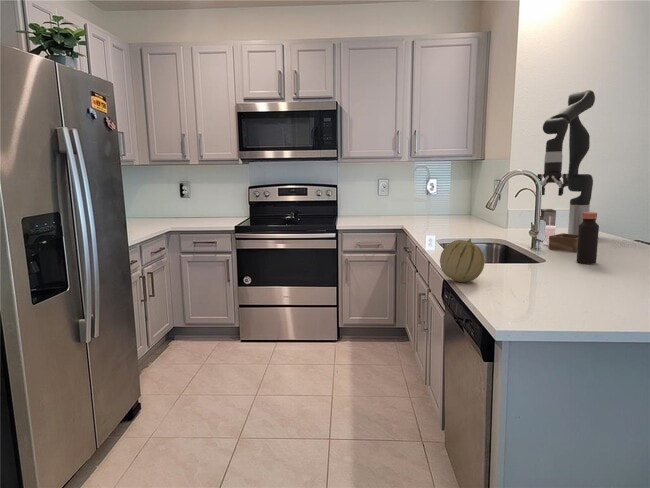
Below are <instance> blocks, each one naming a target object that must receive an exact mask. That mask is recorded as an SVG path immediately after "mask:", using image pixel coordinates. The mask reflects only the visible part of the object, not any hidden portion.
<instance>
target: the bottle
mask: <svg viewBox="0 0 650 488" xmlns="http://www.w3.org/2000/svg"><path fill="white" fill-rule="evenodd" d="M582 218H583V222H582V223H581V224H580V225H579V232H578V246H577V252H576V259H575V261H576V262H577V263H578V264H583V265H594V264H596V263H597V256H598V255H597V254H598V246H599V245H598V243H599V232H600V231H599V230H600V226H599V224H598V223H597V222H596V221H597V218H598V213H597V212H592V211H589V212H583V214H582Z"/></svg>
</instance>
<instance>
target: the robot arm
mask: <svg viewBox="0 0 650 488" xmlns="http://www.w3.org/2000/svg"><path fill="white" fill-rule="evenodd" d="M595 95H596V94H595V93H594V91H593V90H590V89H588V90H579V91H575V92H571V93H570V94H569V95H568V99H567V106H566V107H563V108H562V109H561V110H560V111H559V112H558V113H556V114H555V115H553V116H551V117H548V118H547V119H546V120H545V121H544V123H543V125H542V131H543V132H544V133H545V134H546V135H555V137H553V138H550V139H548V140H547V141H546V142H545V143H546V144H545V155H544V161H543V162H544V166H543V173H538V174H537V175H536V177H538V178H539V179H540V181H541V185H542V195H541V196H545V195H546V193H545V192H546V187H545V186H547V185H548V184H556V185H557V186H558V193H557V195H558V196H559V197H562V196H563V195H564V188H566V187H567V188H568V191H570V192H578V193H579V192H580V194H579V195H578V196H576V197H573V198H571V199H570V200H569V211H568V228H567V234H575V235H578V232H579V225H580V224H581V223H582V222H583V218H582V214H583V212H590V207H591V205H590V204H591V201H592V192H593V187H594V186H593V185H594V178H593V176H592V175H591V174H587V173H579V168H580V164H581V163H582V161H583V159H584V158H585V156H586V155H587V154H588V152H589V151H590V146H591V145H590V144H591V141H590V140H591V139H590V133H589V132H588V130H587V129H586V127H585V126H584V124H583V123H582V121H581V120H580V116H579V115H581V114H583V113H584V112H586V111H587V110H590V109H591V108H592V107H593V106H594V105H595V101H596V96H595ZM568 128H569V135H568V136H569V137H568V138H569V139H568V148H569V149H568V151H569V152H568V154H569V158H568V160H569V162H568V171H567V173H562V170H563V168H562V167H563V145H564V139H565V137H566V134H567V132H568ZM561 178H562V180H561Z"/></svg>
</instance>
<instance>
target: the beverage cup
mask: <svg viewBox="0 0 650 488" xmlns="http://www.w3.org/2000/svg"><path fill="white" fill-rule="evenodd" d="M550 219H551V216H550V217H549V226H546V227H545V235H546V239H545V240H544V241H543V242H542V243H543V245H546V246H549V236H552V235H556V229H557V226H556V225H555V226H550Z"/></svg>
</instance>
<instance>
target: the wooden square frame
mask: <svg viewBox="0 0 650 488" xmlns="http://www.w3.org/2000/svg"><path fill="white" fill-rule="evenodd" d="M577 246H578V235H575V234H568V233H565V232H564V233H557V234H555V235H552V236H549V245H548V250H556V251H562V252H571V253H577Z"/></svg>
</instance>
